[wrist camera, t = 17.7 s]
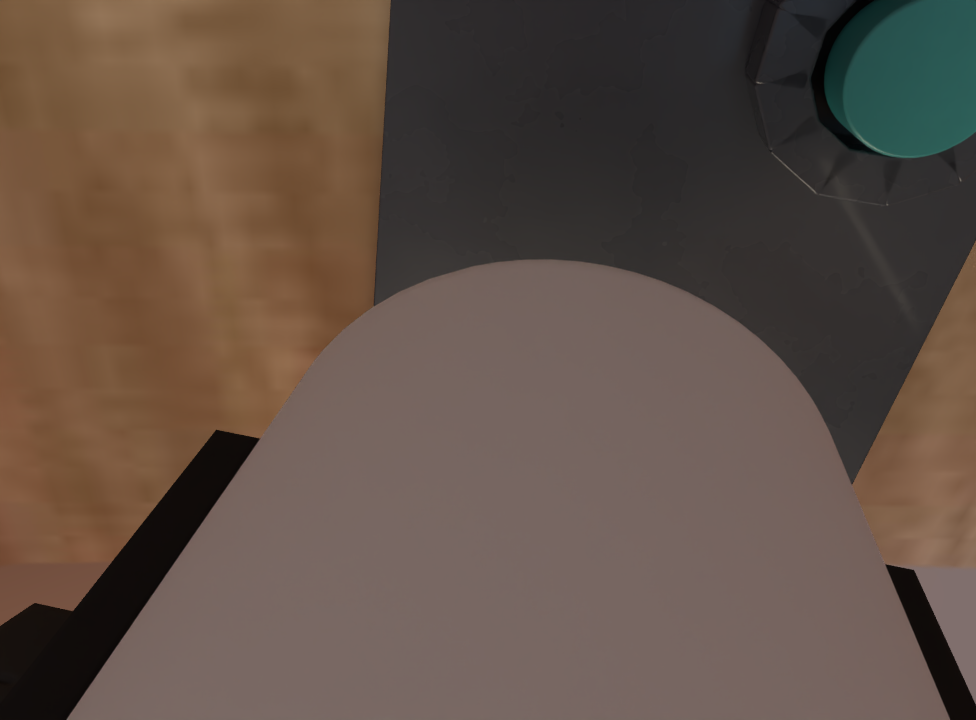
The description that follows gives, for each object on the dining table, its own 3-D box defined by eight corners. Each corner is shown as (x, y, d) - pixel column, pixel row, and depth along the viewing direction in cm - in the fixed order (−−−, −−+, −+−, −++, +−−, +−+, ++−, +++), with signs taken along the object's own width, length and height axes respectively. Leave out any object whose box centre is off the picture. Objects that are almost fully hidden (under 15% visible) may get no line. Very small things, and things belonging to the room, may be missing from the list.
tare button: (940, 149, 17) (971, 171, 16) (802, 126, 17) (820, 145, 16) (1008, -1, 16) (1050, 6, 14) (855, -25, 16) (879, -19, 14)
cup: (736, 134, 11) (1162, 885, 2) (874, 597, 15) (1214, 1487, 6) (210, 340, 14) (-398, 965, 6) (440, 674, 18) (287, 1331, 10)
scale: (834, 472, 25) (859, 534, 23) (378, 383, 26) (353, 433, 24) (1095, -64, 17) (1178, -62, 14) (414, -165, 18) (380, -179, 15)
